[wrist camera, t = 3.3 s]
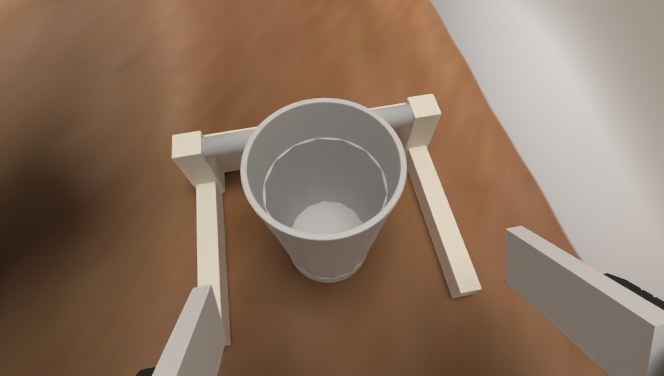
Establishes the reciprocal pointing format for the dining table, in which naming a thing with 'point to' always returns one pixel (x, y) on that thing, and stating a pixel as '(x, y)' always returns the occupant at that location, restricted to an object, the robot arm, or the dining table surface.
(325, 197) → the cup
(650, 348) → the robot arm
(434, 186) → the dispenser bay
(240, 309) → the dining table surface
